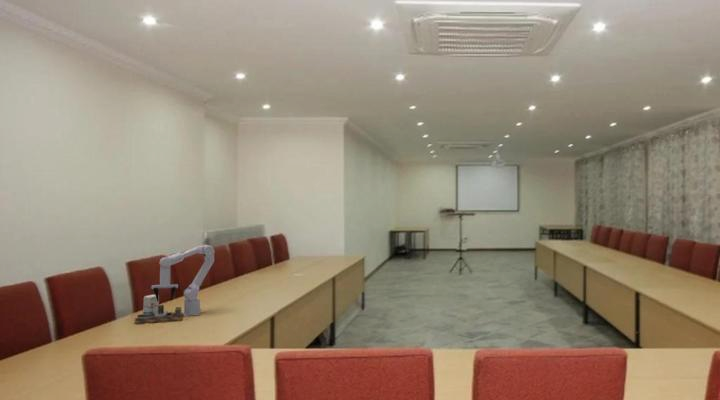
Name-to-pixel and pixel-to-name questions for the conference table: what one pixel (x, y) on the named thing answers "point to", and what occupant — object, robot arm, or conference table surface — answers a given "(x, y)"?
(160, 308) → the carriage
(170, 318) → the board
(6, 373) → the conference table surface
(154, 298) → the ink box
